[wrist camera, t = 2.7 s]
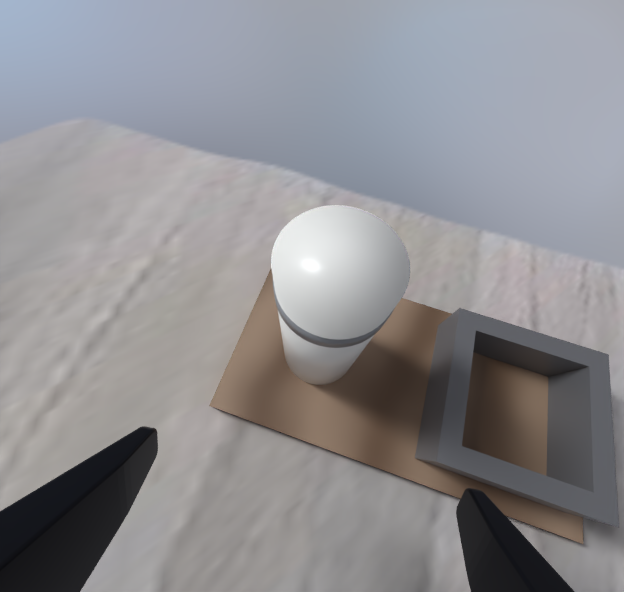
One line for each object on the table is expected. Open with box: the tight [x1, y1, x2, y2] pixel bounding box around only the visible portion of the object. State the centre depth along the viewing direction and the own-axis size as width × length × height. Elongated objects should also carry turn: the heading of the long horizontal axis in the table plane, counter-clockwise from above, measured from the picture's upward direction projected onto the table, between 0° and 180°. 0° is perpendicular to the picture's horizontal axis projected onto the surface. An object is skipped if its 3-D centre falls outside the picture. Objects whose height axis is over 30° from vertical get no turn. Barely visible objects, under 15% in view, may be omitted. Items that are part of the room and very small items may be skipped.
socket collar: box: [415, 308, 619, 527], centre depth 20 cm, size 9×9×4 cm
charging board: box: [209, 269, 583, 544], centre depth 23 cm, size 24×12×1 cm, turn 71°
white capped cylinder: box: [271, 205, 410, 385], centre depth 17 cm, size 5×5×12 cm
